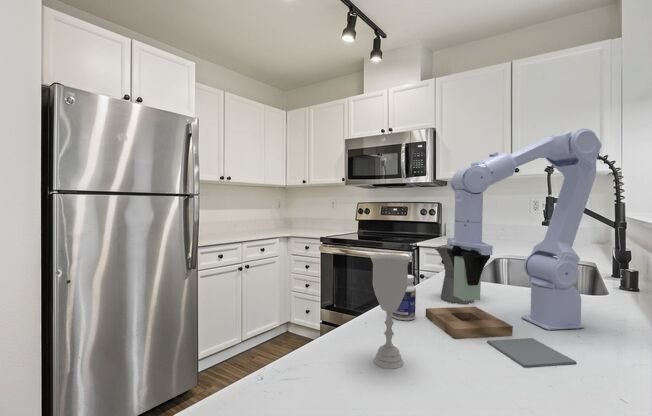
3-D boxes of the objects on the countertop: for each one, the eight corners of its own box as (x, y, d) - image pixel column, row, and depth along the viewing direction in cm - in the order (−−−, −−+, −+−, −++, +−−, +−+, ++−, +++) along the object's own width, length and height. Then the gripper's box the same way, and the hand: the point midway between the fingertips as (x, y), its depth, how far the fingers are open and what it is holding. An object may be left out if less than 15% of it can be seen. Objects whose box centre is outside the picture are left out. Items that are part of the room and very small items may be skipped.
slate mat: (532, 340, 68) (532, 338, 68) (576, 363, 58) (576, 361, 58) (486, 342, 66) (487, 340, 66) (524, 367, 56) (524, 365, 56)
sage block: (469, 294, 77) (470, 256, 77) (480, 300, 74) (481, 259, 73) (453, 295, 77) (454, 256, 77) (463, 300, 73) (464, 259, 73)
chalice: (400, 376, 53) (402, 262, 53) (361, 364, 57) (362, 258, 56) (414, 358, 59) (416, 256, 59) (378, 348, 63) (380, 252, 62)
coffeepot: (440, 304, 90) (442, 238, 90) (428, 294, 100) (429, 234, 99) (496, 304, 91) (497, 238, 91) (478, 294, 101) (479, 234, 100)
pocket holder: (475, 314, 83) (475, 306, 83) (512, 335, 70) (512, 326, 70) (425, 316, 81) (425, 308, 81) (454, 338, 68) (454, 328, 68)
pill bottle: (416, 322, 77) (416, 279, 77) (390, 320, 78) (391, 277, 78) (414, 314, 83) (415, 273, 82) (390, 312, 84) (391, 272, 84)
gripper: (435, 219, 81) (434, 275, 82) (470, 223, 67) (469, 291, 67) (462, 219, 82) (461, 274, 83) (502, 223, 68) (500, 290, 68)
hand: (466, 282), depth 75 cm, fingers closed on sage block, 4 cm apart
